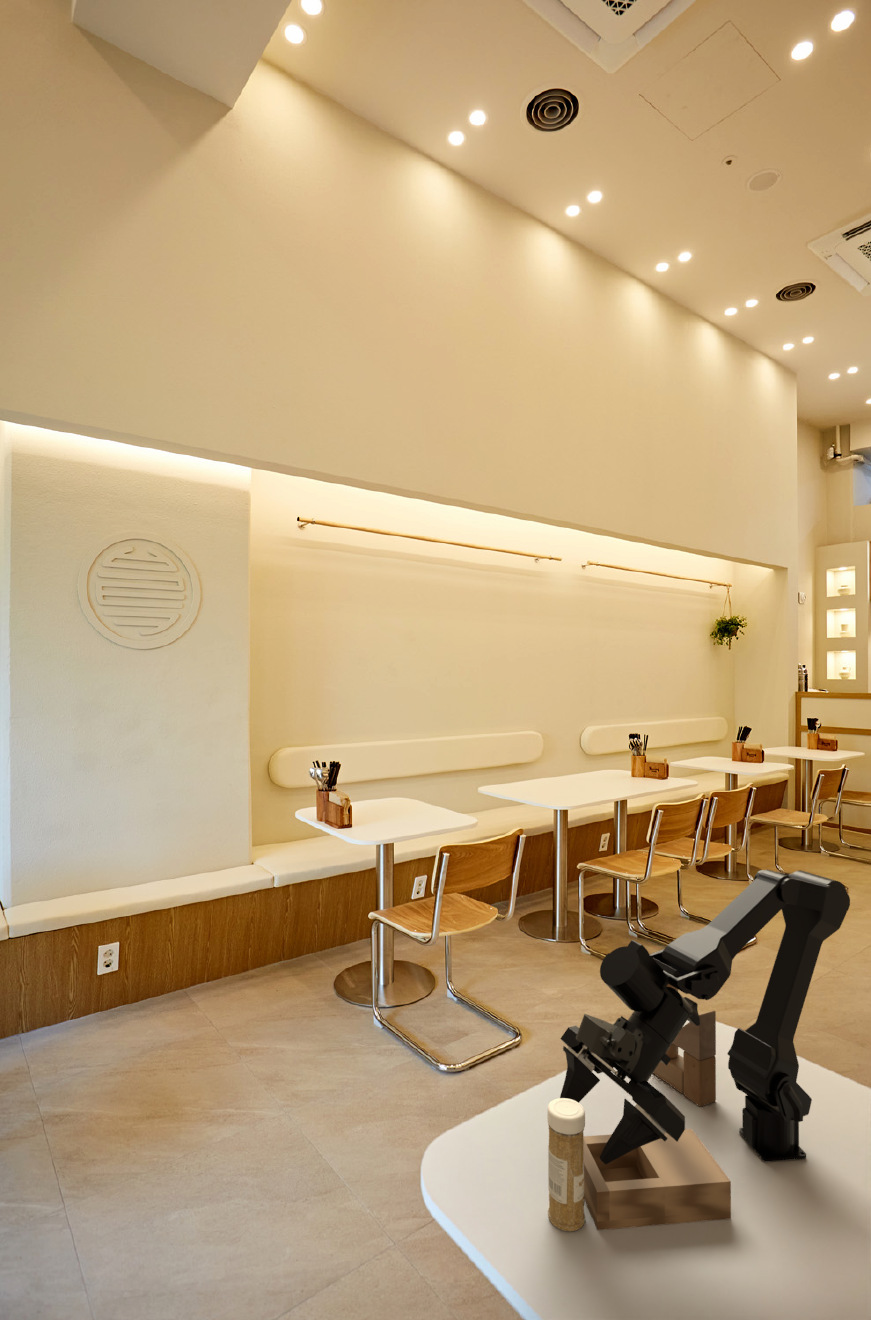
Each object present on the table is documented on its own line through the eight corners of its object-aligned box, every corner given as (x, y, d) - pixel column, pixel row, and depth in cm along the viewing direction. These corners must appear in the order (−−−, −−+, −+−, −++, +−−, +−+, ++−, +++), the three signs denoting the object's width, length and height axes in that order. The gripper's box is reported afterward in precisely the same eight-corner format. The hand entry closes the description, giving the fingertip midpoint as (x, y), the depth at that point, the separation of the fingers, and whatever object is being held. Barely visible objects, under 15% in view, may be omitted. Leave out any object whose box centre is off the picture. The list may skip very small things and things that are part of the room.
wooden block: (700, 1108, 107) (699, 990, 108) (650, 1072, 117) (649, 964, 117) (717, 1102, 109) (716, 986, 109) (666, 1067, 118) (666, 961, 119)
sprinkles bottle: (591, 1229, 83) (591, 1116, 84) (555, 1236, 82) (556, 1121, 83) (575, 1201, 88) (575, 1094, 88) (541, 1207, 87) (541, 1098, 87)
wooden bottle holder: (691, 1162, 95) (691, 1128, 95) (730, 1218, 85) (730, 1181, 85) (571, 1171, 93) (571, 1137, 93) (597, 1230, 83) (597, 1192, 83)
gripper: (572, 965, 97) (502, 1062, 92) (666, 1027, 80) (586, 1150, 75) (617, 1012, 100) (552, 1108, 95) (717, 1082, 83) (643, 1203, 78)
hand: (579, 1137), depth 86 cm, fingers open, 9 cm apart
